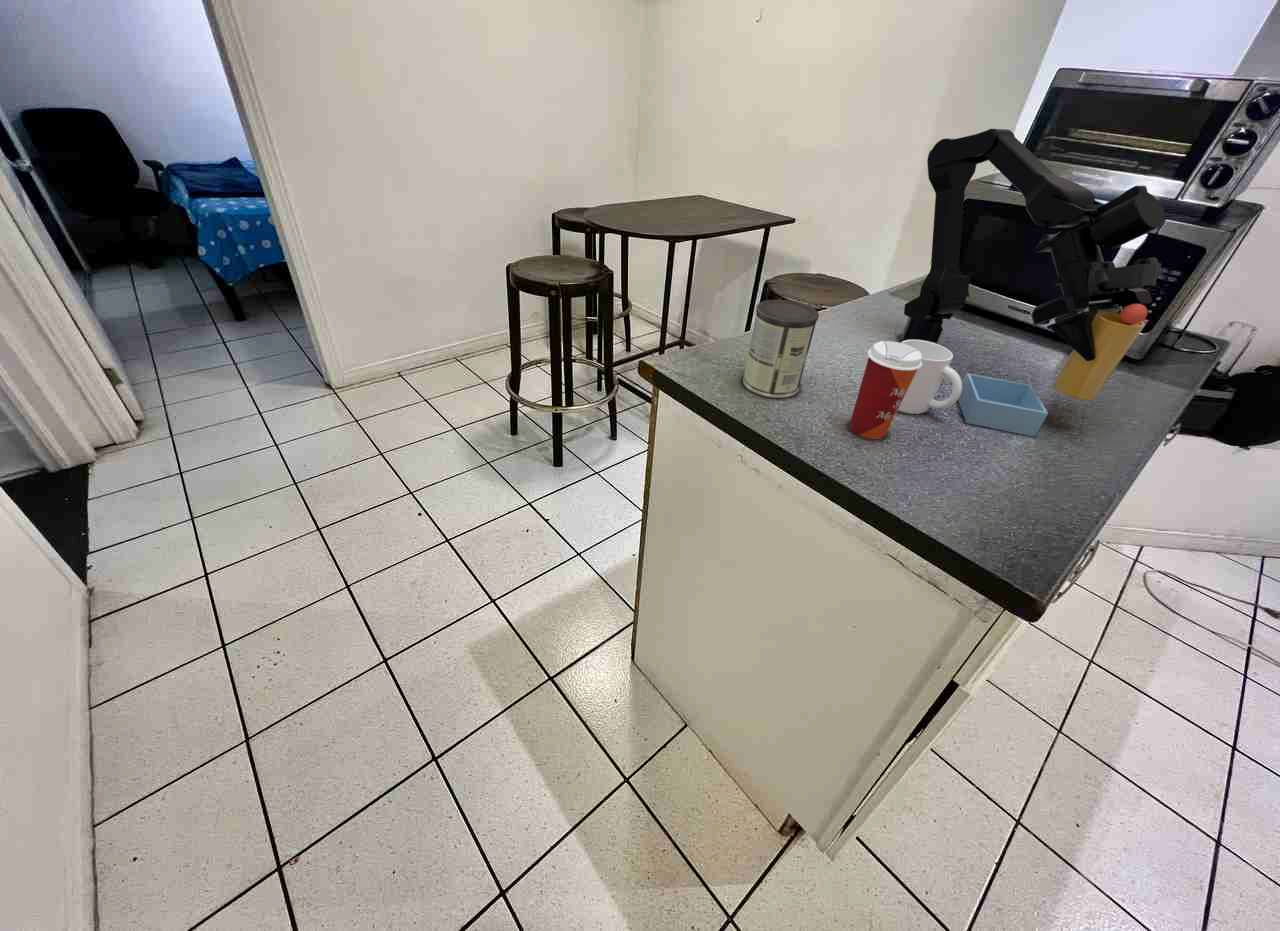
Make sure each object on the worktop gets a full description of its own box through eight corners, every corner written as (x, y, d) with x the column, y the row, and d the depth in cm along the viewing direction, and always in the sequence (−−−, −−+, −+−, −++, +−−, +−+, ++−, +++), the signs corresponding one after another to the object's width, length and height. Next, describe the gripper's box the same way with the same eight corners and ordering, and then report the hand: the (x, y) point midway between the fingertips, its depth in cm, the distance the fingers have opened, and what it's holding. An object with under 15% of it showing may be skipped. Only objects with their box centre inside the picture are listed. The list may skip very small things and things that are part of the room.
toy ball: (1113, 322, 79) (1138, 315, 76) (1115, 305, 79) (1139, 297, 76) (1127, 330, 79) (1151, 323, 77) (1128, 312, 80) (1153, 305, 77)
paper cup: (886, 448, 81) (921, 367, 73) (837, 432, 84) (865, 351, 76) (896, 426, 87) (929, 348, 78) (849, 412, 90) (876, 334, 81)
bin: (965, 423, 89) (977, 400, 86) (956, 394, 97) (966, 373, 94) (1034, 436, 87) (1048, 413, 84) (1018, 406, 95) (1031, 384, 92)
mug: (958, 417, 90) (985, 362, 84) (932, 430, 86) (959, 374, 80) (896, 387, 98) (917, 335, 92) (870, 398, 94) (890, 345, 88)
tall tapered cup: (1058, 395, 86) (1104, 322, 78) (1047, 378, 90) (1090, 308, 83) (1101, 403, 84) (1152, 329, 77) (1088, 386, 89) (1135, 315, 81)
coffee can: (761, 366, 102) (777, 294, 93) (808, 385, 97) (830, 311, 88) (731, 383, 96) (744, 307, 87) (779, 404, 90) (799, 326, 82)
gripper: (1095, 238, 73) (1125, 345, 72) (1179, 234, 79) (1209, 333, 77) (1018, 276, 84) (1043, 370, 82) (1097, 271, 89) (1122, 359, 88)
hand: (1105, 358), depth 82 cm, fingers closed on tall tapered cup, 6 cm apart
